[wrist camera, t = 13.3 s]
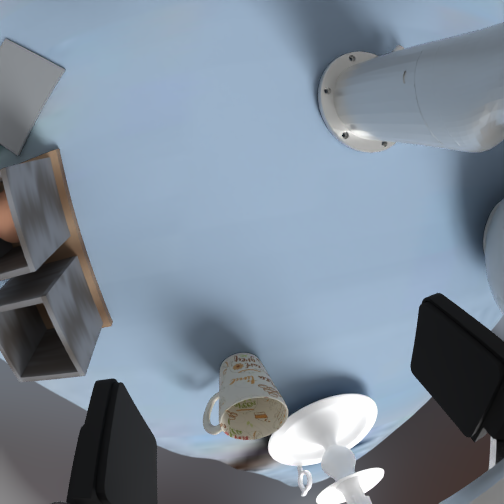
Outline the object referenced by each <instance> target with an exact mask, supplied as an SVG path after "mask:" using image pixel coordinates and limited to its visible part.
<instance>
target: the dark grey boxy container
mask: <svg viewBox="0 0 504 504" xmlns="http://www.w3.org/2000/svg"><path fill="white" fill-rule="evenodd" d="M3 190H5V193H6V197H7V201H8V205H9V208H10V212H11V215H12V219H13V222H14V226H15V229H16V232H17V235H18V238H19V241H20V242H18V243H10V242H7V241H5V240H3V239H1V238H0V281H1V280H5V279H9V278H11V279H10V280H9V281H8V282H7V283H6V284H5V285H4V286H3V287H2V288H1V289H0V351H1V353H2V354H3V356H4V358H5V359H6V361H7V363H8V364H9V366H10V368H11V369H12V371H13V372H14V374H15V376H16V377H17V379H18V380H19V382H28V381H40V380H51V379H60V378H69V377H78V376H85V375H86V372H87V369H88V366H89V363H90V360H91V357H92V354H93V351H94V348H95V345H96V342H97V339H98V336H99V334H100V331H101V328H104V327H109V326H111V325H112V322H113V321H112V319H111V317H110V314H109V312H108V309H107V307H106V304H105V302H104V299H103V297H102V294H101V291H100V289H99V286H98V283H97V280H96V278H95V275H94V272H93V269H92V266H91V264H90V261H89V258H88V255H87V252H86V249H85V245H84V242H83V239H82V236H81V233H80V229H79V226H78V223H77V219H76V216H75V212H74V209H73V205H72V201H71V197H70V193H69V190H68V186H67V181H66V177H65V173H64V169H63V164H62V160H61V155H60V150H59V149H56V150H53V151H50V152H48V153H45V154H42V155H40V156H37V157H35V158H32V159H30V160H27V161H25V162H22V163H20V164H17V165H13V166H9V167H5V168H3V169H1V170H0V193H1V192H2V191H3Z"/></svg>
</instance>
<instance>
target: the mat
mask: <svg viewBox="0 0 504 504" xmlns="http://www.w3.org/2000/svg"><path fill="white" fill-rule="evenodd" d="M64 72H65V69H63V68H61V67H59V66H58V65H56V64H54V63H52V62H50V61H48V60H46V59H45V58H43V57H41V56H39V55H37V54H35V53H33V52H31V51H29V50H27V49H25V48H23V47H22V46H20V45H18V44H16V43H14V42H12V41H10V40H8V39H5V40H4V42H3V43H2V45H1V47H0V144H1V145H2V146H4V147H5V148H7V149H8V150H10V151H11V152H13V153H14V154H16V155H17V156H19V155H20V153H21V151H22V148H23V146H24V144H25V142H26V140H27V138H28V136H29V134H30V132H31V130H32V128H33V126H34V124H35V122H36V120H37V118H38V116H39V114H40V112H41V110H42V109H43V107H44V105H45V103H46V101H47V100H48V98H49V96H50V94H51V93H52V91H53V89H54V88H55V86H56V84H57V83H58V81H59V80H60V78H61V76H62V75H63V73H64Z"/></svg>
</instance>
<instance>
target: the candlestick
mask: <svg viewBox="0 0 504 504" xmlns="http://www.w3.org/2000/svg"><path fill="white" fill-rule="evenodd" d="M376 417H377V406H376V403H375V402H374V401H373V400H372V399H371V398H370V397H368V396H365V395H362V394H340V395H335V396H331V397H327V398H324V399H321V400H319V401H316V402H314V403H311V404H309V405H307V406H305V407H303V408H302V409H300V410H298V411H297V412H295V413H293V414H292V415H291V416H289V417H288V418H287V420H286V422H285V423H284V424H283V426H282V427H281V428H280V429H278V430H277V431H276V432H274V433H273V434H272V435H271V437H270V439H269V443H268V451H269V454H270V455H271V457H272V458H273V459H274V460H276V461H277V462H280V463H282V464H286V465H292V466H298V467H297V469H298V485H299V487H300V489H301V490H302V494H301V496H305V495H306V493H307V491H308V490H309V489H310V488H311V486H312V476H311V473H310V472H309V471H308V470H303V469H302V466H304V465H312V464H316V463H320V462H321V466H322V470H323V471H324V472H325V473H326V474H327V475H328V476H330V477H332V478H334V479H335V481H336V482H335V483H333V484H331V485H330V486H328V487H327V488H326V489H324V490H323V491H322V492H321V493H320V494H319V495H318V496H317V498H316V502H317V503H318V504H339V503H343V502H347V504H372V502H371V500H370V497H369V496H365V494H364V493H365V492H367V491H368V490H370V489H371V488H372V487H373V486H375V485H376V484H377V483H378V482H379V481H380V480H381V479H382V477H383V475H384V470H383V469H381V468H370V469H366V470H362V471H359V472H356V473H355V470H354V468H355V455H354V453H353V452H352V451H351V450H350V449H351V448H352V447H353V446H355V445H356V444H357V443H358V442H360V441H361V440H362V439H363V438H364V437H365V436H366V435H367V433H368V432H369V431H370V429H371V428H372V426H373V425H374V423H375V420H376ZM304 474H305V475H306V476H307V486H306V487H304V485H303V475H304Z"/></svg>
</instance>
